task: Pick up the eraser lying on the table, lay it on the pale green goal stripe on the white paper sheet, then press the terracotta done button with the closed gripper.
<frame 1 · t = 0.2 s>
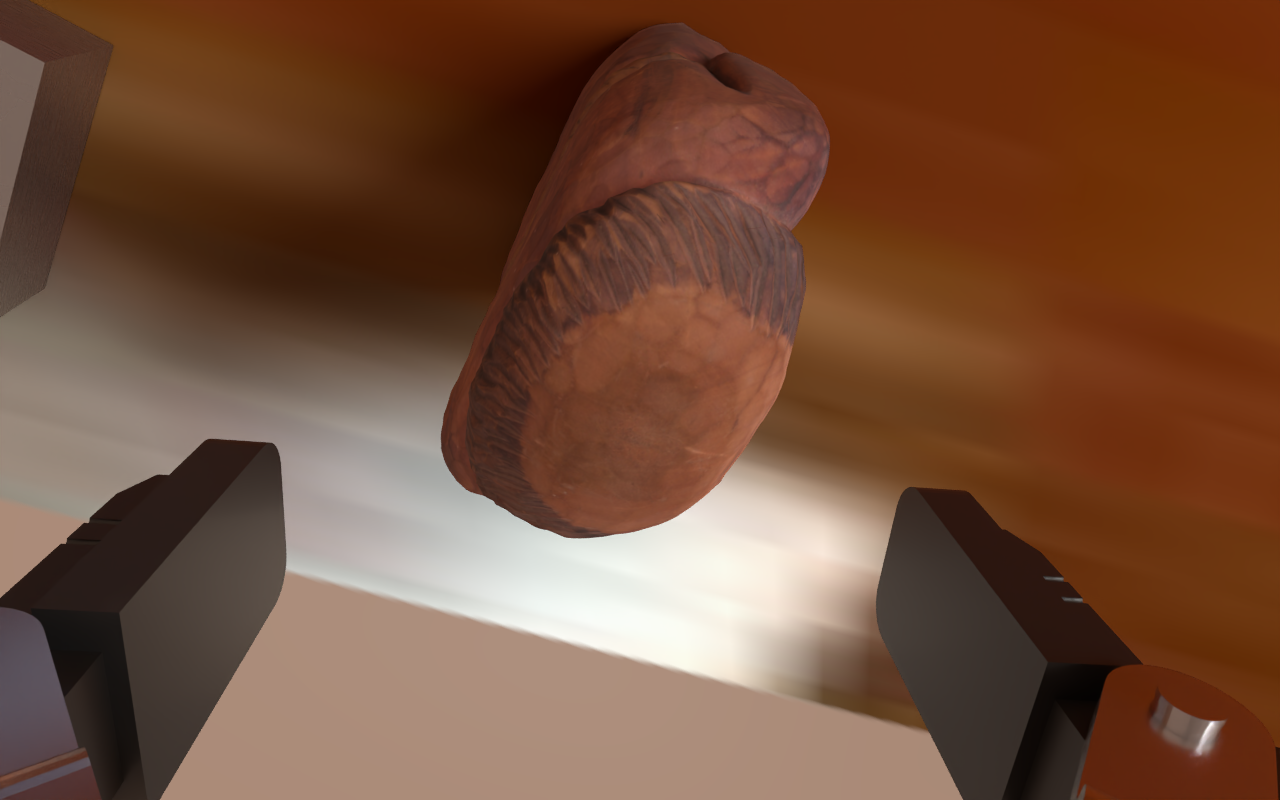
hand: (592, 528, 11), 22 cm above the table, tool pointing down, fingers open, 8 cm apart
wooden figurine: (627, 172, 31), on the table
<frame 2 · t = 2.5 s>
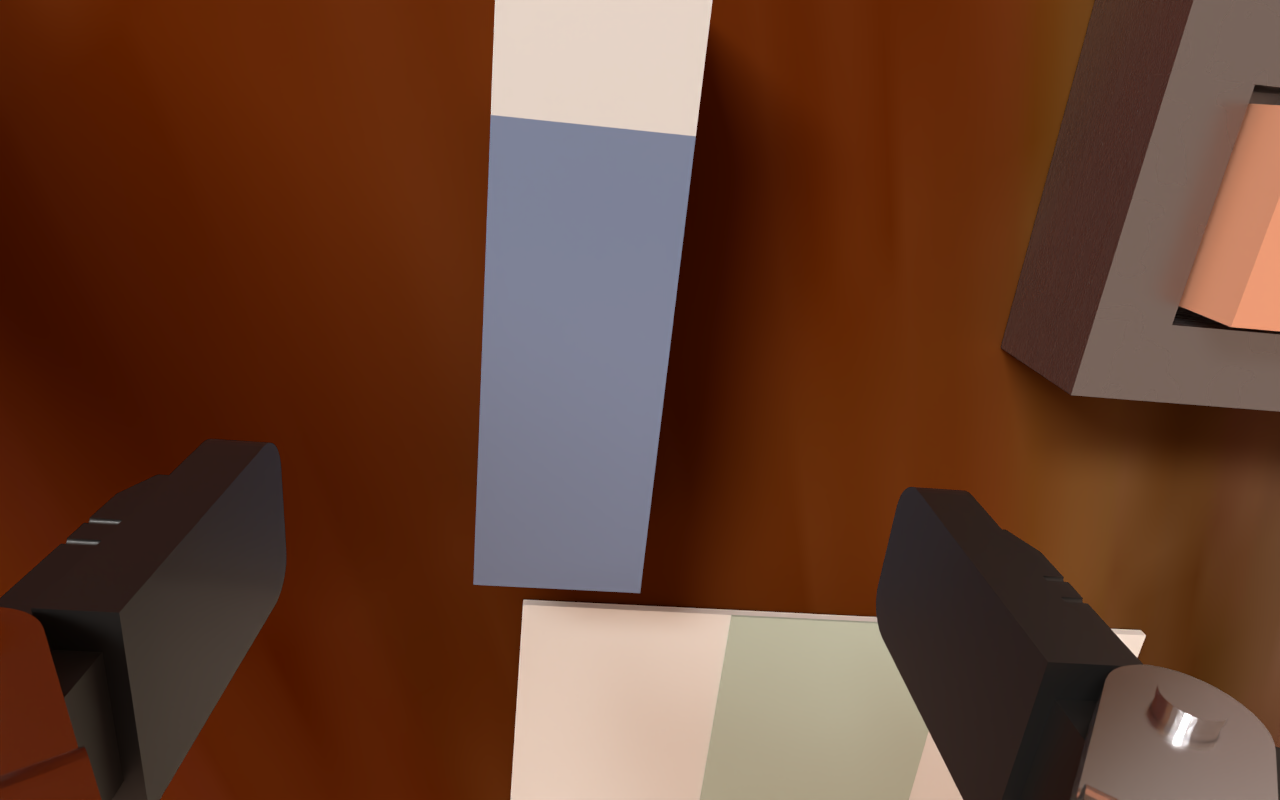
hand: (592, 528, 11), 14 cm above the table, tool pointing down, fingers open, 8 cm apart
button housing: (1208, 198, 25), on the table
eraser: (579, 278, 24), on the table
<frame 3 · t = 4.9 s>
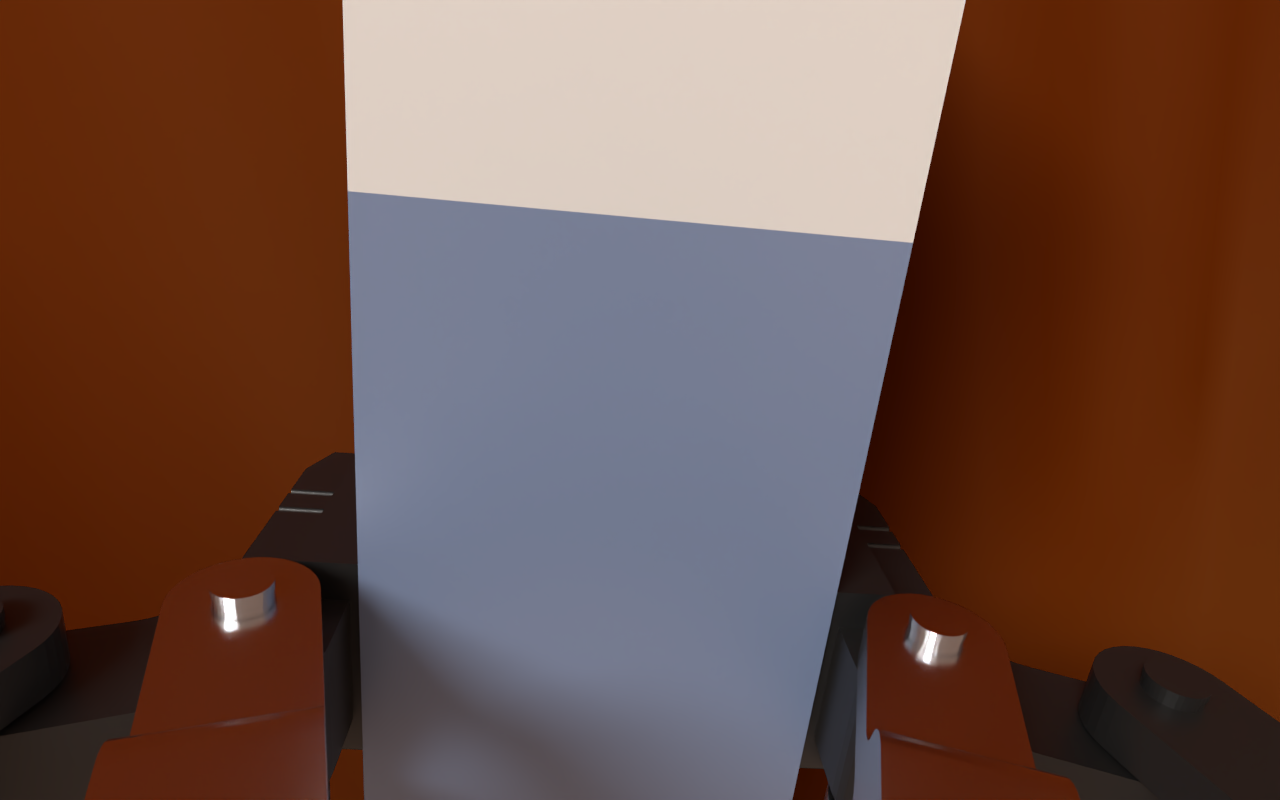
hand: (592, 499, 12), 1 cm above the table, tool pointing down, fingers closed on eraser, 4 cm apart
eraser: (594, 472, 12), on the table, touching gripper
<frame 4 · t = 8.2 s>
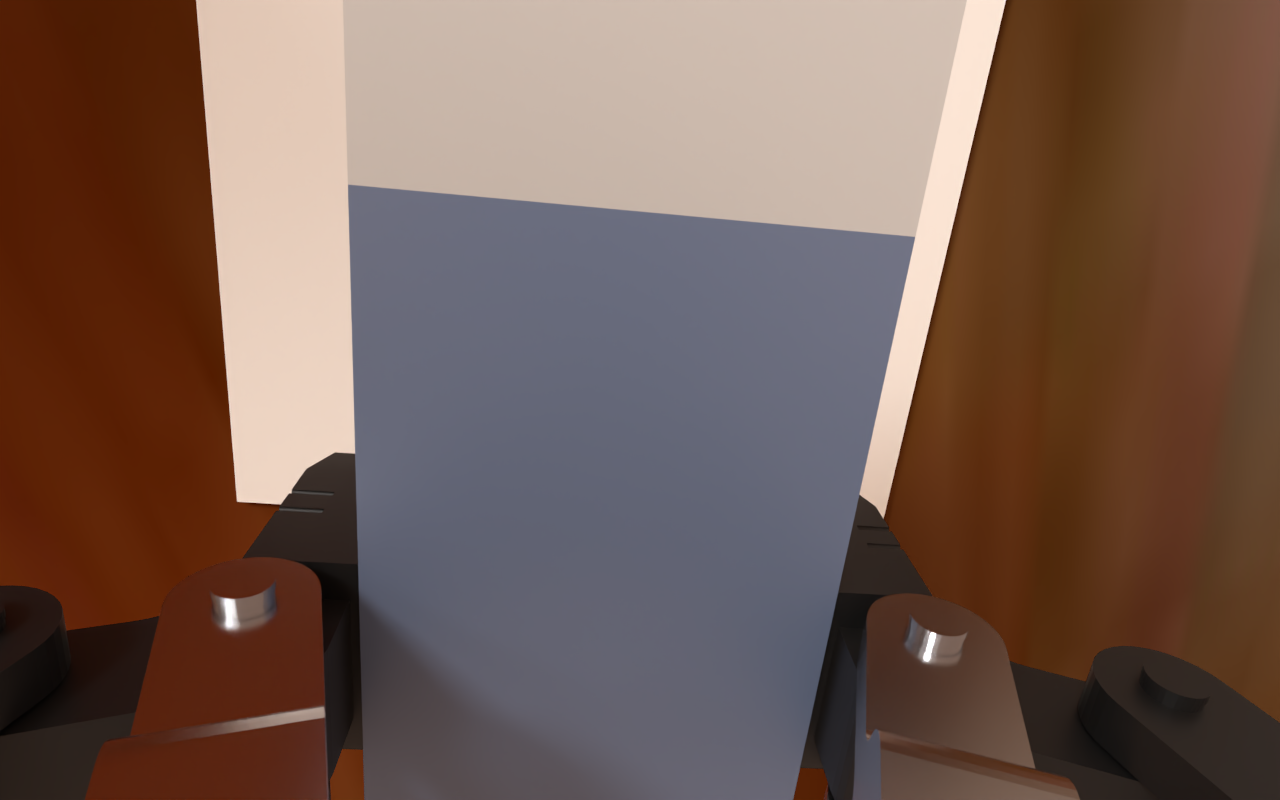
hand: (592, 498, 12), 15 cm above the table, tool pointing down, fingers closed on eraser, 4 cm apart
paper sheet: (588, 262, 26), on the table
eraser: (594, 469, 12), point 15 cm above the table, touching gripper
when the fingers open (3 cm above the table, at t = 11.6 s): eraser drops 1 cm, resting on paper sheet.
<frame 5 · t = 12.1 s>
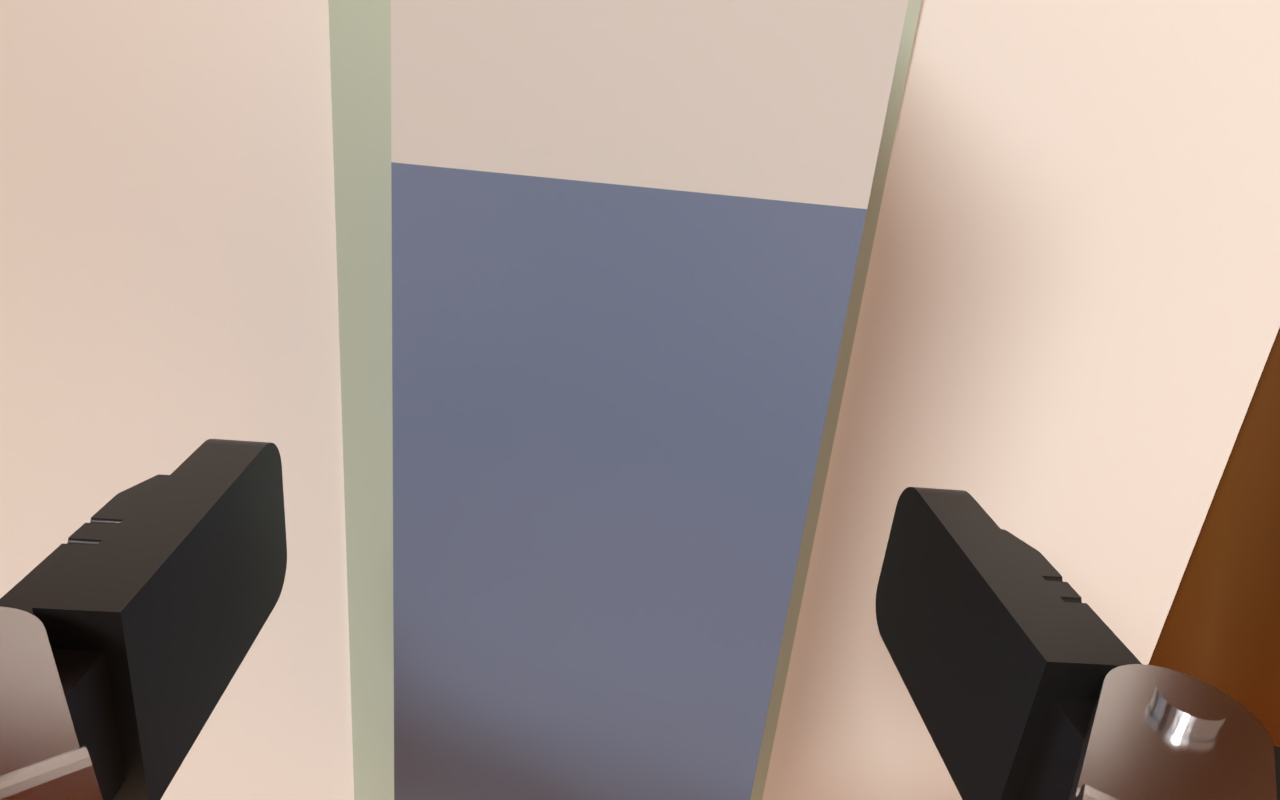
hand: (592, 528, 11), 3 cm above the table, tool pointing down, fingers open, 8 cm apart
paper sheet: (592, 424, 14), on the table
eraser: (595, 430, 14), resting on paper sheet
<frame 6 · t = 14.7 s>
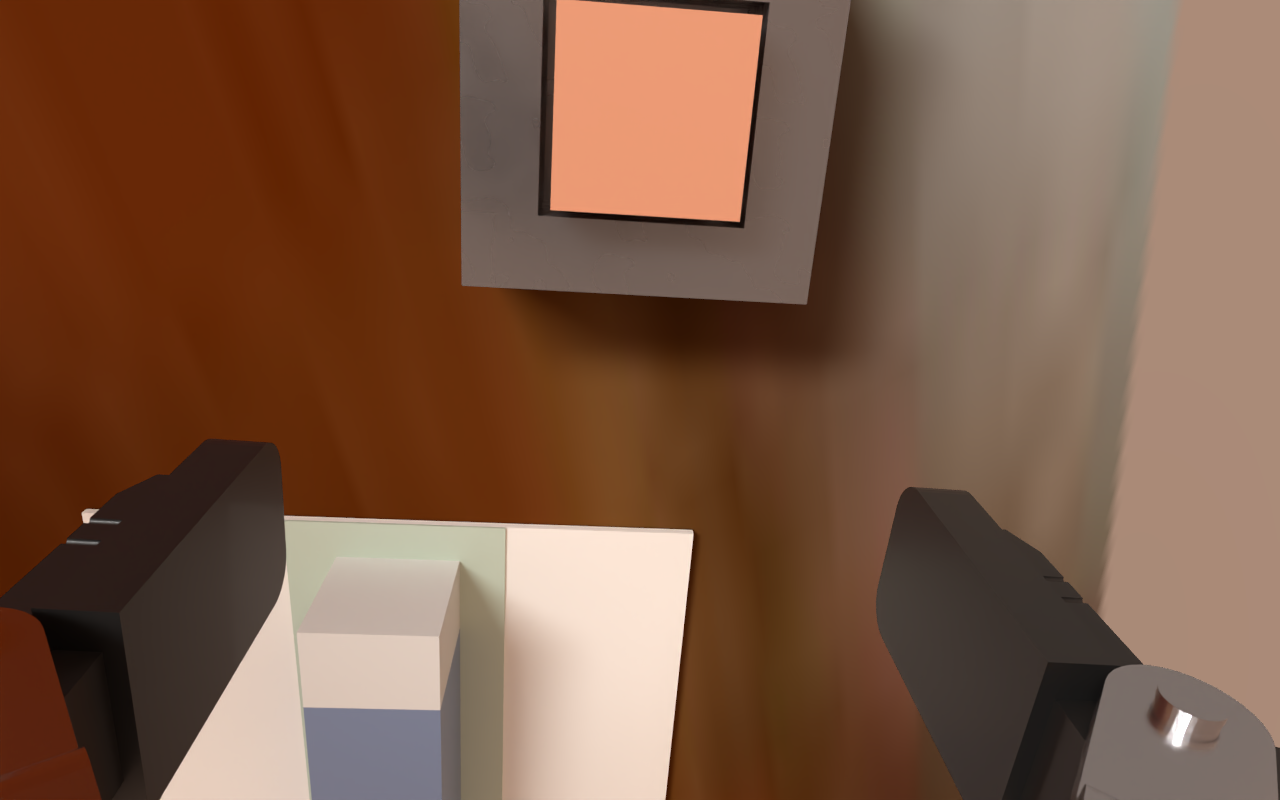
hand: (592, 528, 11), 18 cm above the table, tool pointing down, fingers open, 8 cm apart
button housing: (641, 106, 26), on the table
paper sheet: (405, 713, 34), on the table
button cap: (649, 112, 23), point 4 cm above the table, slide at 0.0 cm
eraser: (404, 718, 34), resting on paper sheet
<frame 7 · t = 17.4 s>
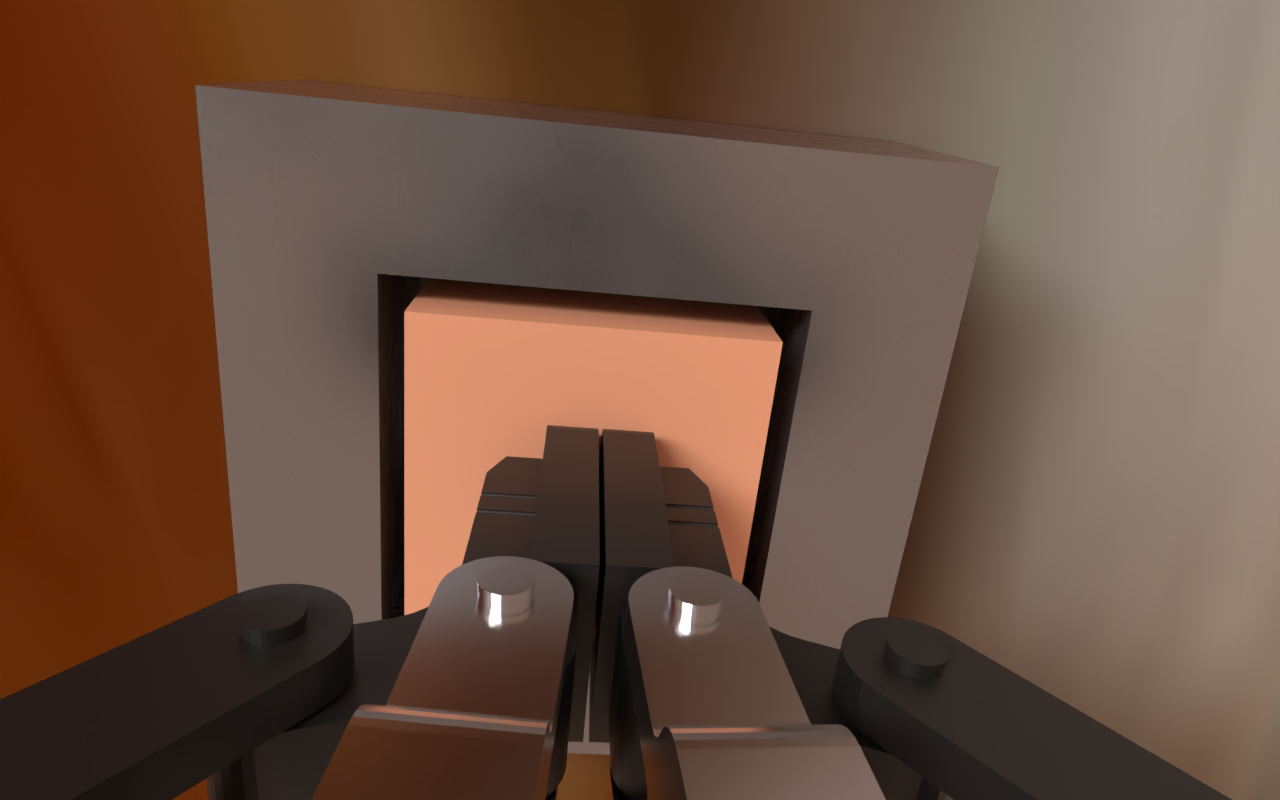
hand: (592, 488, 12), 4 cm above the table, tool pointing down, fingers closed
button housing: (584, 388, 16), on the table
button cap: (583, 450, 13), point 3 cm above the table, slide at 1.1 cm, touching gripper
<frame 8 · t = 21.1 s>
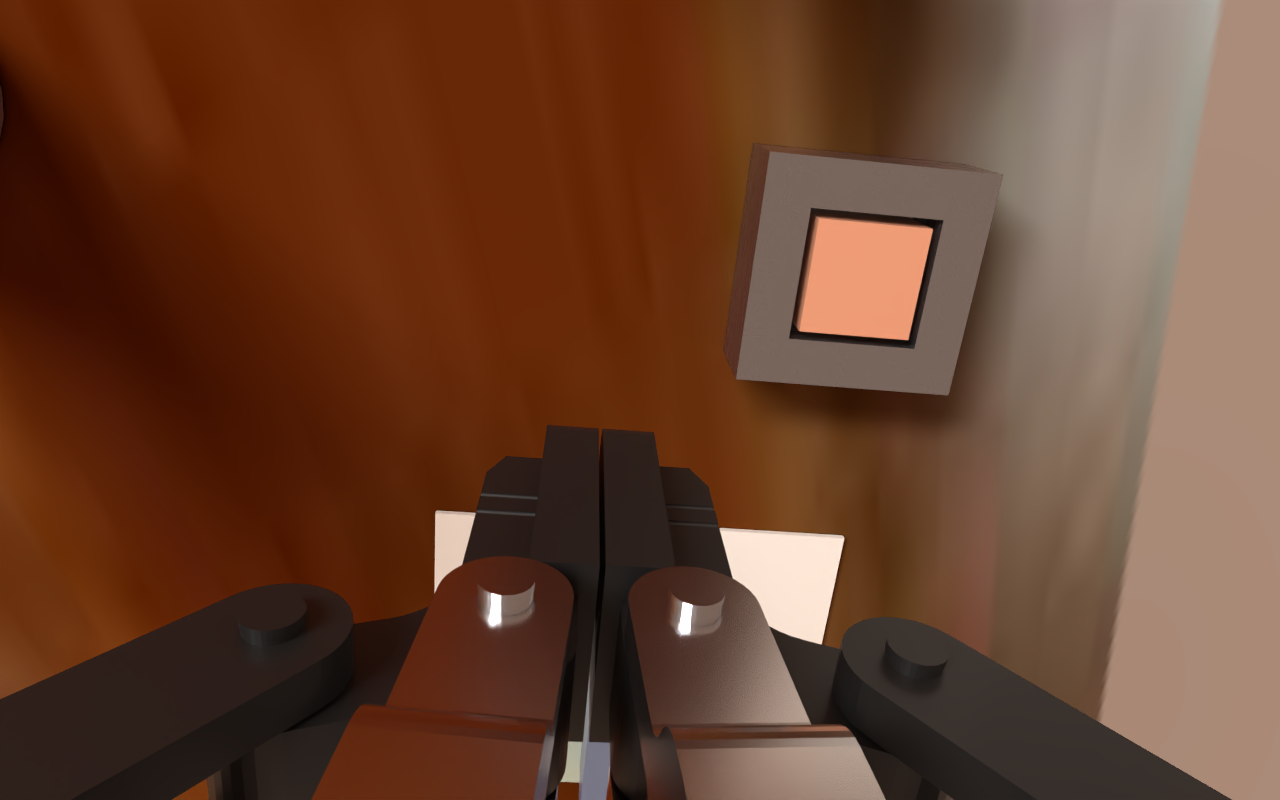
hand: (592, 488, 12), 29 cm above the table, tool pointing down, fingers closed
button housing: (839, 261, 41), on the table
paper sheet: (628, 659, 49), on the table
button cap: (855, 273, 38), point 3 cm above the table, slide at 1.3 cm
eraser: (629, 663, 48), resting on paper sheet
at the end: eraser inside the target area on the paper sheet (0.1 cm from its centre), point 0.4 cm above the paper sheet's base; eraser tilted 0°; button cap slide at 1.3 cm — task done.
